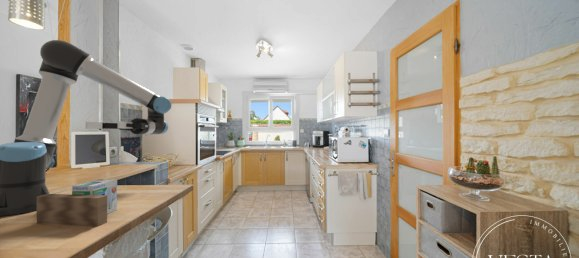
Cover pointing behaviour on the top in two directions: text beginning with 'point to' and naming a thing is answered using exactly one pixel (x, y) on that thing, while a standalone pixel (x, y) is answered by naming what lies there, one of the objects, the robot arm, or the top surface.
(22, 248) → the top surface
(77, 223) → the walnut board
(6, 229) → the top surface
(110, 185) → the light bulb box
